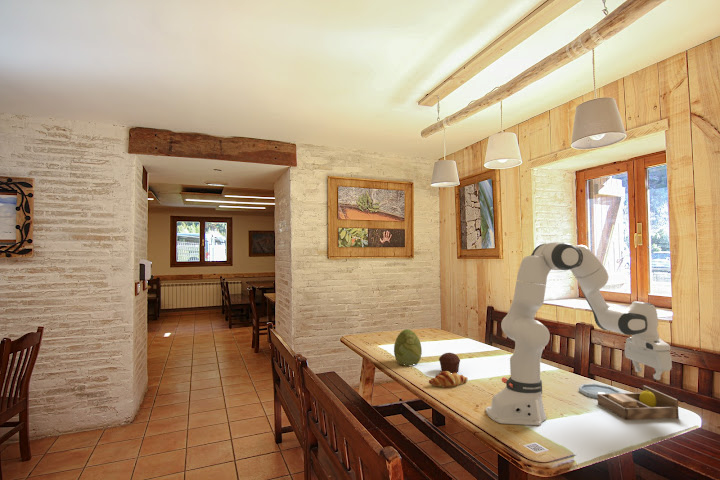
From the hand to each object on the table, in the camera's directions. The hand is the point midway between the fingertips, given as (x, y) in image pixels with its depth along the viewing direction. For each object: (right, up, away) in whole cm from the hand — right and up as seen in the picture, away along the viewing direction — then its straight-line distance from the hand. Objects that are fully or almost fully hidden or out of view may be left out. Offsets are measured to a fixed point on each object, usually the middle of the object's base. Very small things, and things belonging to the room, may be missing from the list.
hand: (647, 375), depth 154 cm
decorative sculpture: (-89, -18, +70) cm, 115 cm away
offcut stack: (-11, -14, -1) cm, 18 cm away
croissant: (-73, -17, +33) cm, 82 cm away
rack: (-5, -14, -1) cm, 15 cm away
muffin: (-68, -17, +53) cm, 88 cm away
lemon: (0, -14, -1) cm, 14 cm away
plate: (-8, -15, +18) cm, 25 cm away
